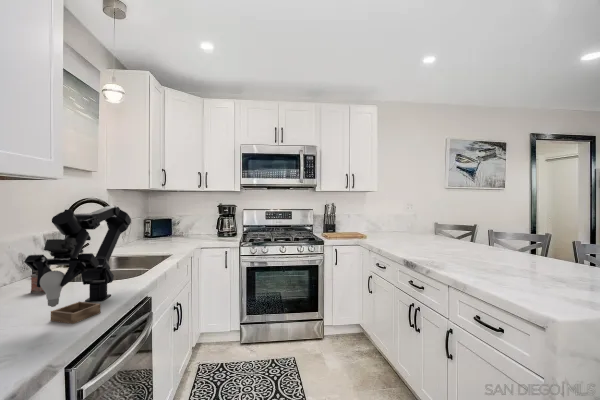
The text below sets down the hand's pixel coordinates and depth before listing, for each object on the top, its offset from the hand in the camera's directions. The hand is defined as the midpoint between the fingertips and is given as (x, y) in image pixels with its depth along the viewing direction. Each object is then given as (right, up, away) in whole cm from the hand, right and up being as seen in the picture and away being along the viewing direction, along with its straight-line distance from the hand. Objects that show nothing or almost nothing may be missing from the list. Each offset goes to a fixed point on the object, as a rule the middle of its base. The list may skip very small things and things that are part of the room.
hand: (49, 286), depth 85 cm
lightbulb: (0, -7, +1) cm, 7 cm away
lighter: (-33, -13, +34) cm, 49 cm away
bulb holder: (+1, -12, +8) cm, 15 cm away
